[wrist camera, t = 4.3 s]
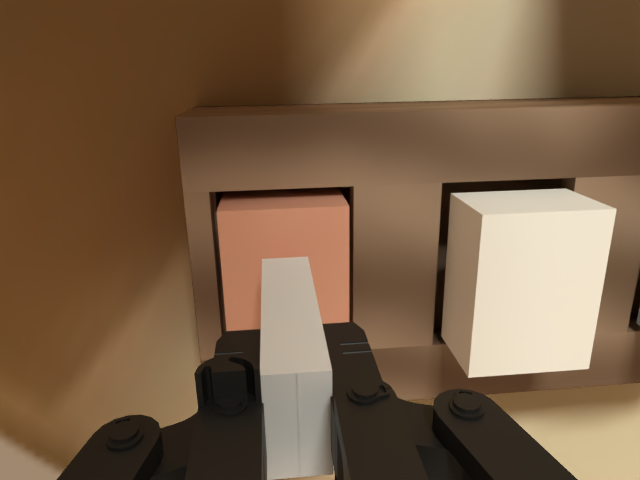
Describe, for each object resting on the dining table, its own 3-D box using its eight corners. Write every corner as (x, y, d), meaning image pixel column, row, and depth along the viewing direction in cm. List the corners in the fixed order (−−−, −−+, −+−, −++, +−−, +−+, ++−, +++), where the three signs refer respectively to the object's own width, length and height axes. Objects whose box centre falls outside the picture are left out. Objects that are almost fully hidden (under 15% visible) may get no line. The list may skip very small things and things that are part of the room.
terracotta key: (223, 191, 20) (216, 211, 17) (338, 187, 20) (349, 206, 18) (234, 328, 22) (229, 366, 19) (338, 321, 22) (349, 358, 19)
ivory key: (450, 193, 19) (482, 214, 16) (565, 188, 19) (616, 209, 17) (441, 336, 21) (468, 377, 18) (546, 329, 21) (588, 368, 19)
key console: (194, 107, 22) (174, 117, 17) (713, 94, 24) (822, 100, 19) (217, 351, 26) (206, 415, 21) (663, 322, 28) (743, 374, 23)
